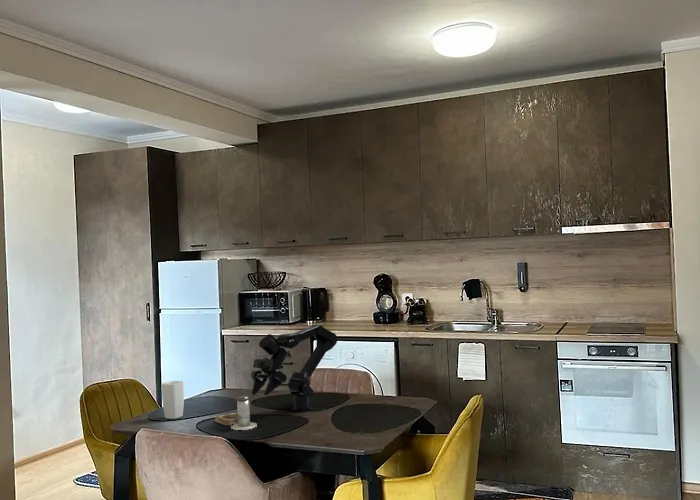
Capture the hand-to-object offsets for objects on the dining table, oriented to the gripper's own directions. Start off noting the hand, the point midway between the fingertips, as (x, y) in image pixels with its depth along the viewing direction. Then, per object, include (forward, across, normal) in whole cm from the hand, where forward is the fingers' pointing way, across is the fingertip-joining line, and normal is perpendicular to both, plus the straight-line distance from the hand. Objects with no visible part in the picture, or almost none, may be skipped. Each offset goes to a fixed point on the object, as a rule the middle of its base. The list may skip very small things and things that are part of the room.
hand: (258, 394), depth 258 cm
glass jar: (+14, +1, 0) cm, 14 cm away
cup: (+18, -35, -12) cm, 41 cm away
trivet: (+14, +1, 0) cm, 14 cm away
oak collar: (+12, -11, +1) cm, 16 cm away
